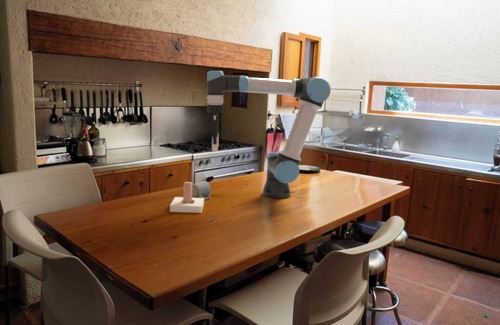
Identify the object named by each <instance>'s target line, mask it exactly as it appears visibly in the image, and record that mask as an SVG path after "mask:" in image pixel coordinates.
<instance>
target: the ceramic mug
mask: <svg viewBox="0 0 500 325" xmlns="http://www.w3.org/2000/svg"><path fill="white" fill-rule="evenodd" d="M192 198H204V201H205V200H210V198H211V185H210V183H209V182H208V181H206V180H204V181H201V182H196V183H192Z"/></svg>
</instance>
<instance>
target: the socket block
mask: <svg viewBox="0 0 500 325" xmlns="http://www.w3.org/2000/svg"><path fill="white" fill-rule="evenodd" d="M204 206H205V199H204V198H200V197H192V204H189V203H183V197H182V196H174V198H173V200H172V201H171V203H170V204H169V212H170V213H190V214H193V213H194V214H197V213H198V214H202V212H203V209H204Z"/></svg>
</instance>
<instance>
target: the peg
mask: <svg viewBox="0 0 500 325" xmlns="http://www.w3.org/2000/svg"><path fill="white" fill-rule="evenodd" d="M192 185H193V182H192V181H185V182H183V193H182V194H183V195H182V196H183V203H189V204H192V198H193V196H192Z"/></svg>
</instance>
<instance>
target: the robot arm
mask: <svg viewBox="0 0 500 325" xmlns="http://www.w3.org/2000/svg"><path fill="white" fill-rule="evenodd" d="M206 75H207V76H206V93H207V94H206V95H207V96H206V97H205V99H206V100H207V102H206V103H207V105H206V106H207V108H206V110H207V113H208V114H212V115H211V116H210V123H211V135H210V138H211V151H212V152H218V151H219V147H220V145H219V143H220V142H219V141H220V140H219V139H220V138H219V136H220V135H219V134H221V131H220V129H219V124H220V120H221V119H220V116H219V114H223V113H224V105H223V104H224V92H226V93H227V92H234V93H238V92H239V93H254V94H255V93H256V94H265V95H266V94H267V95H268V94H269V95H281V96H283V95H284V96H290V98H295V99H296V98H297V99H298V102H299V103H300V105H299V107H298V111H297V113H296V115H295V118H294V120H293V124H292V126H291V129H290V131H289V134H288V137H287V140H286V141H285V144H284V147H283V149H282V150H280V151H279V152H269V153H268V154H267V161H266V162H267V163H266V164H267V165H266V181H265V183H264V186H263V188H262V195H263V196H265V197H267V198H273V199H285V198H290V197H291V196H292V195H291V194H292V191H291V188H290V184H291V183H293V182H295V181H296V180H297V179H298V177H299V175H300V164H301V162H302V159H301V153H302V150H303V148H304V145H305V143H306V140H307V138H308V135H309V132H310V130H311V127H312V124H313V122H314V120H315V117H316V114H317V111H318V110H321V109H322V107H323V105H324V102H325V101H326V100H328V98H329V97H330V95H331V85H330V83H329V81H328V80H326V79H325V78H323V77H320V76H314V77H305V78H292V79H280V78H279V79H278V78H277V79H276V78H275V79H274V78H267V77H266V78H262V77H250V76H247V75H225V74H224V71H222V70H209V71H208V72H207V73H206Z"/></svg>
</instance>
